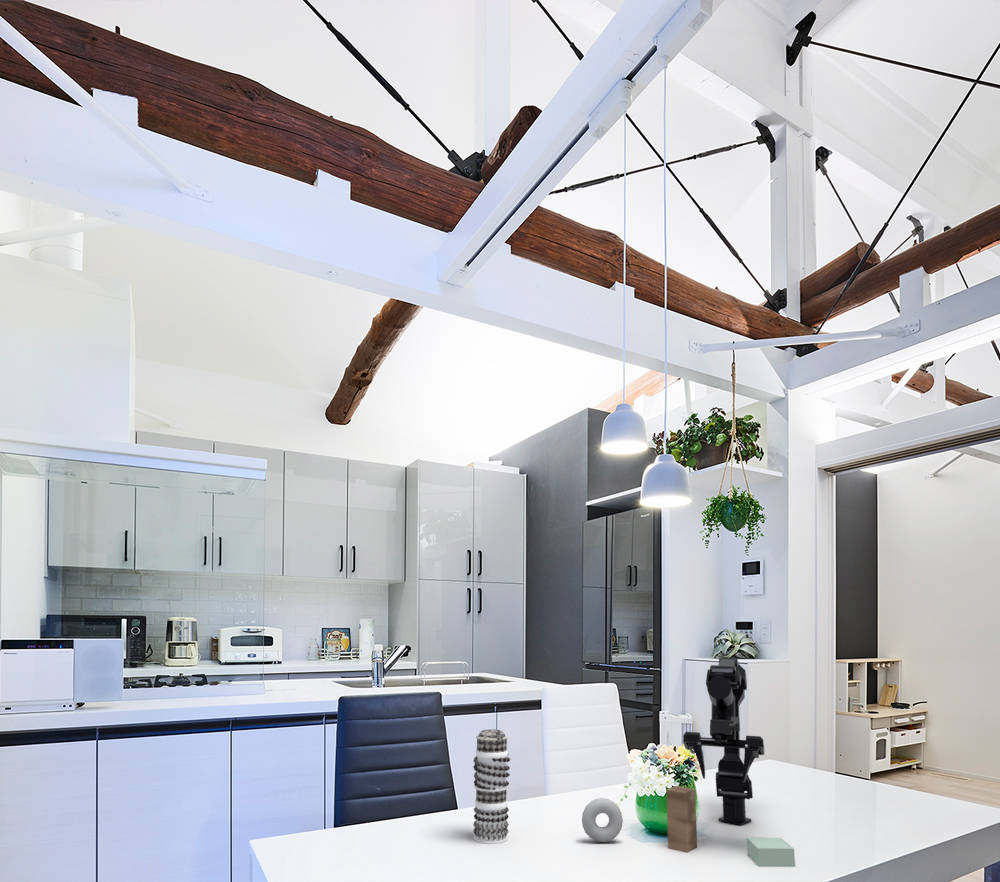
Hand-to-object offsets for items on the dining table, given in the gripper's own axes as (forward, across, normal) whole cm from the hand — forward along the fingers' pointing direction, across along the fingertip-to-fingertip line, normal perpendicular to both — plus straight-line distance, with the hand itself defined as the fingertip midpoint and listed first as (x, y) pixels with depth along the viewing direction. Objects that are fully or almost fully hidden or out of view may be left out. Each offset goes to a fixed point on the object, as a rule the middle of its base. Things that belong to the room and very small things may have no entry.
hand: (723, 779), depth 188 cm
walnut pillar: (+14, -10, +6) cm, 19 cm away
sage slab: (+16, +10, +4) cm, 19 cm away
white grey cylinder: (+19, -55, -3) cm, 58 cm away
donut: (+16, -29, +4) cm, 33 cm away
